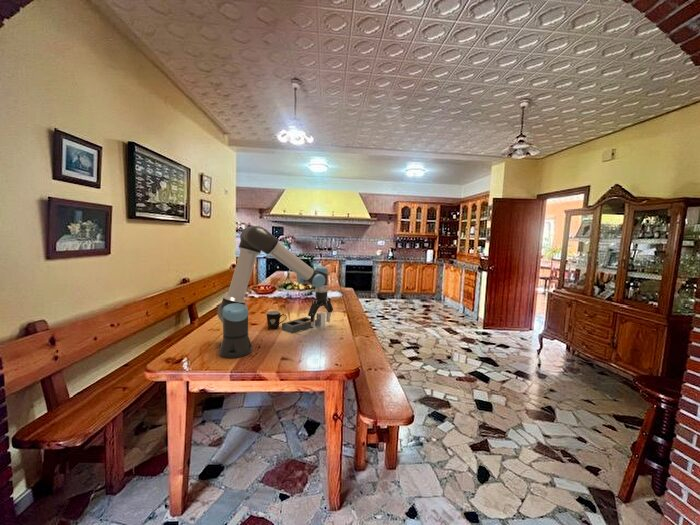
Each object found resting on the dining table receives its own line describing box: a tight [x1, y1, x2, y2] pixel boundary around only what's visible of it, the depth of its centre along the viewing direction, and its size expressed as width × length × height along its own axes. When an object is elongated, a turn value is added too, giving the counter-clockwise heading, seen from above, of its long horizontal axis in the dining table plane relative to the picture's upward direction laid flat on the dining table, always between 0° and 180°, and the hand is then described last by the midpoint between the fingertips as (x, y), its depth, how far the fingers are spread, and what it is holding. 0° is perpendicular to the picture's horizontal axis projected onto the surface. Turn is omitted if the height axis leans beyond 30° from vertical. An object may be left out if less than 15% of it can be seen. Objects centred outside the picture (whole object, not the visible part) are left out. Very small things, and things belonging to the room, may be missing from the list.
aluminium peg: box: [315, 312, 326, 331], centre depth 185 cm, size 4×4×10 cm
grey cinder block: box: [281, 316, 316, 334], centre depth 186 cm, size 20×10×4 cm, turn 141°
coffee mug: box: [266, 310, 287, 331], centre depth 183 cm, size 12×9×10 cm
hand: (320, 324), depth 185 cm, fingers open, 13 cm apart
